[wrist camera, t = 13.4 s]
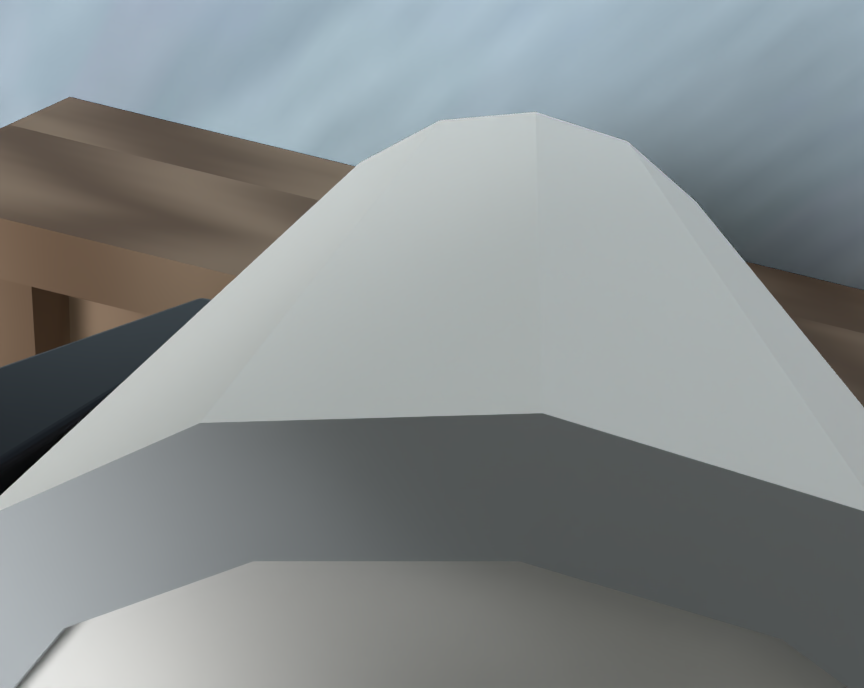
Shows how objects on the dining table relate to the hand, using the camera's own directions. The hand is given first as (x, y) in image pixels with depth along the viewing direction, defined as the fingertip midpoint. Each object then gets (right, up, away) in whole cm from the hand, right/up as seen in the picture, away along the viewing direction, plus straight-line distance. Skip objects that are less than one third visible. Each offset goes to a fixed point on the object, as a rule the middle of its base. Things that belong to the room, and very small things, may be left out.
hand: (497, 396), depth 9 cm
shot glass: (0, +1, +1) cm, 2 cm away
